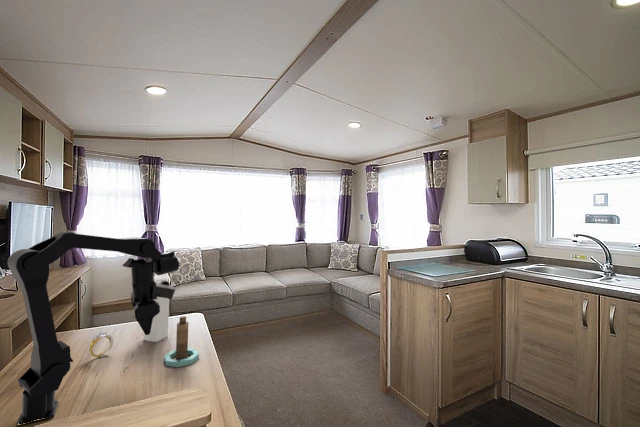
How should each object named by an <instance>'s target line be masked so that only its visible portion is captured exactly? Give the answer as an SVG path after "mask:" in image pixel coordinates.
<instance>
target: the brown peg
mask: <svg viewBox="0 0 640 427" xmlns="http://www.w3.org/2000/svg"><path fill="white" fill-rule="evenodd" d="M175 341H176V342H175V343H176V346H175V347H176V348H175V350H176V356H175V360H181V359H186V358H188V355H187V351H188V348H189V345H188V344H189V321H187V316H185V315H184V316H180V317H179V321H178V322H177V323H176V340H175Z"/></svg>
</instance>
